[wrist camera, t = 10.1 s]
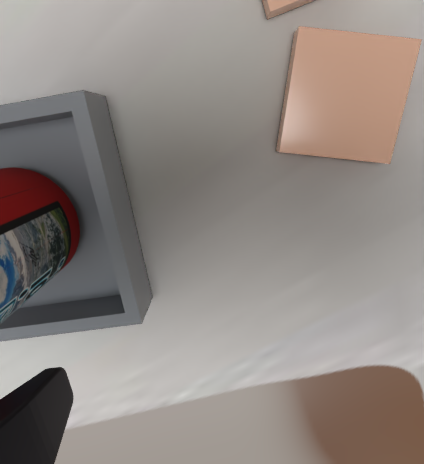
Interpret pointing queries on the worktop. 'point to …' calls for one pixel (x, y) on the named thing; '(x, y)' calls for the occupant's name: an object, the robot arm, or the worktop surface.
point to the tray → (89, 215)
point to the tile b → (345, 94)
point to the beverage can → (32, 235)
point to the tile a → (281, 6)
